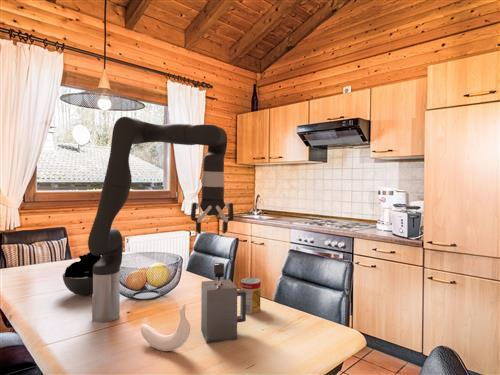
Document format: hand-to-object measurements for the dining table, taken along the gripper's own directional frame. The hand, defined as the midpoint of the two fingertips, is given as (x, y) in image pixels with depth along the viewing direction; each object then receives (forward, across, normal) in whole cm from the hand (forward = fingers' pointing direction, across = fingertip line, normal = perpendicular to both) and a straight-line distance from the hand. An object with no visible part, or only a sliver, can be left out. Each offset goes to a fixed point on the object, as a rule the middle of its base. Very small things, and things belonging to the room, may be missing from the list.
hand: (211, 233), depth 118 cm
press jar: (+34, +5, -3) cm, 34 cm away
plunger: (+28, +3, -3) cm, 28 cm away
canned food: (+34, +20, +15) cm, 42 cm away
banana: (+34, -16, -8) cm, 38 cm away
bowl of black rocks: (+36, -44, +53) cm, 78 cm away
